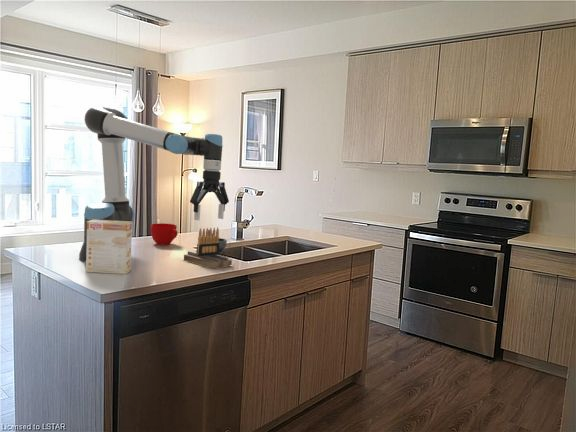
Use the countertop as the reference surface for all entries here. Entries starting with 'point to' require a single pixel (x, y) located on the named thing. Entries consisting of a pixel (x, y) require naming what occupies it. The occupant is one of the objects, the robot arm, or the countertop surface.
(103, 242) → the coffeecake box
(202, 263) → the stick bundle
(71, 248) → the countertop surface
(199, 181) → the robot arm
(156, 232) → the ceramic cup
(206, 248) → the ammunition clip
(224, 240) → the mortar and pestle
